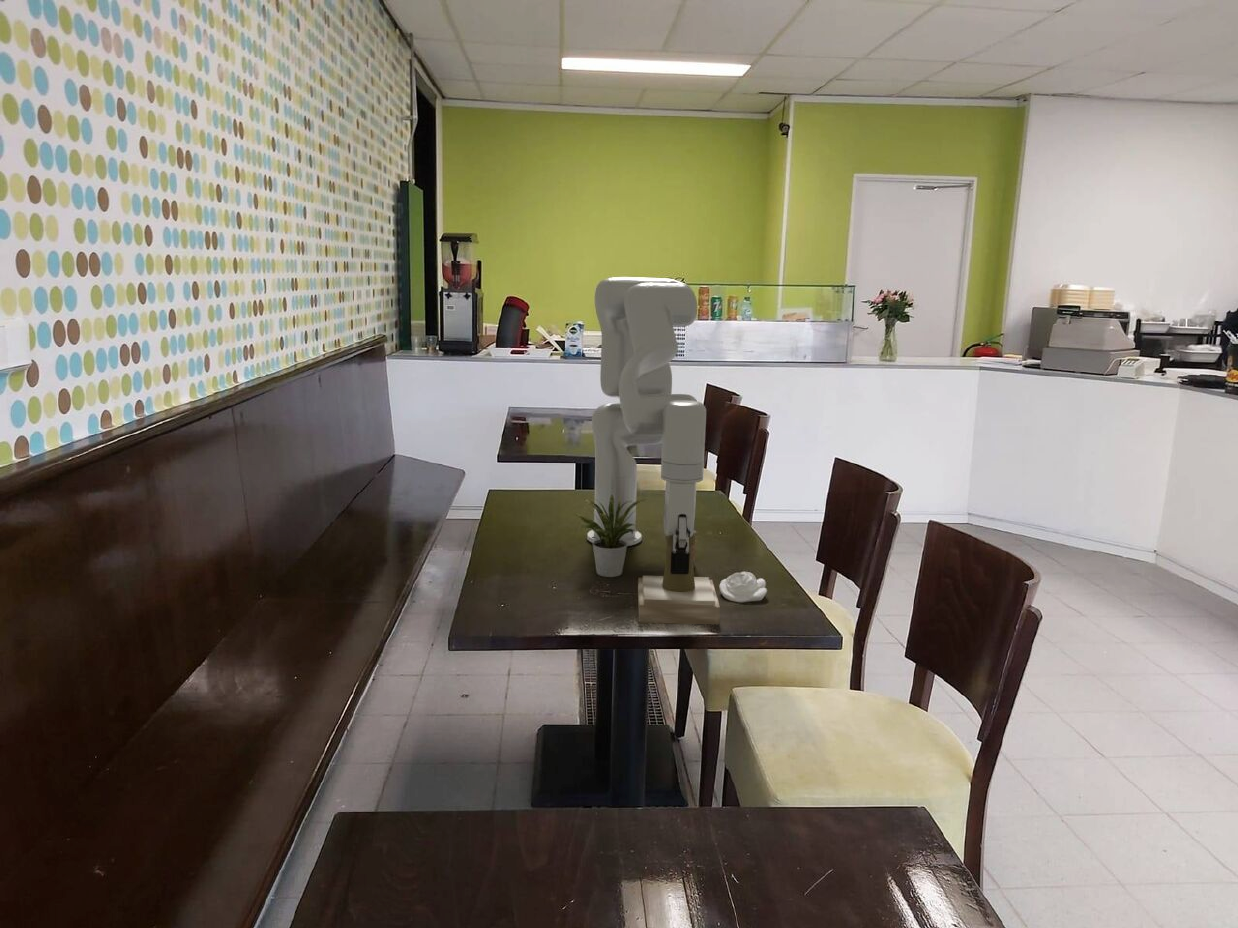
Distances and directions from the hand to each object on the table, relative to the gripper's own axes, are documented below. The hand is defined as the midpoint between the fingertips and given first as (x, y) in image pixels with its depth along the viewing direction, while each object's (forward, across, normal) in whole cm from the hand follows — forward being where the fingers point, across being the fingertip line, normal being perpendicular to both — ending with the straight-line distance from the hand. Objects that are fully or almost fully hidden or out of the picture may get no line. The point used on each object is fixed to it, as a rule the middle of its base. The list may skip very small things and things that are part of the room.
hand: (678, 566), depth 156 cm
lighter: (+8, -23, +2) cm, 24 cm away
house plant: (+8, -20, -12) cm, 25 cm away
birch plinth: (+8, 0, 0) cm, 8 cm away
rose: (+9, -9, +13) cm, 18 cm away
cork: (+4, -1, 0) cm, 4 cm away
